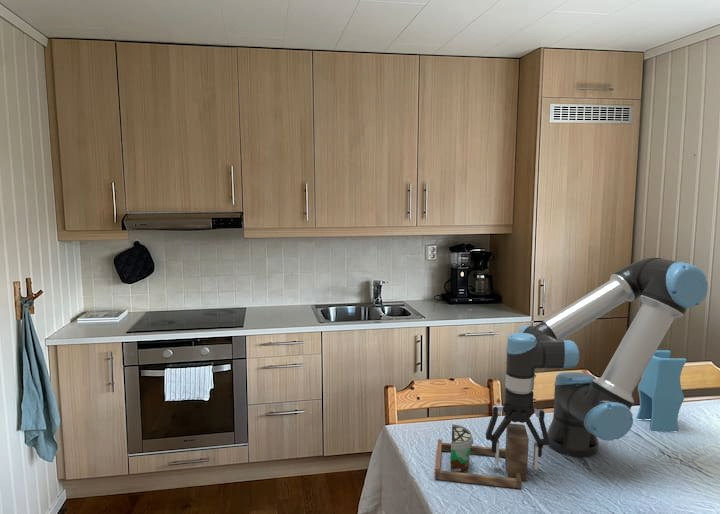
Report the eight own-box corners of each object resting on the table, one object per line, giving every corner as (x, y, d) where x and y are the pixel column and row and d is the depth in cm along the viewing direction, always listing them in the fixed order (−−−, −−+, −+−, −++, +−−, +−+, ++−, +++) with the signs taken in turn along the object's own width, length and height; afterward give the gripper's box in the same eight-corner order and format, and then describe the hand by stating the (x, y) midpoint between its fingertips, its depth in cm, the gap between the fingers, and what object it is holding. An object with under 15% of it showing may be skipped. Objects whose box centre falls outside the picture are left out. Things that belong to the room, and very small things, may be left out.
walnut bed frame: (521, 456, 153) (522, 418, 151) (528, 489, 136) (530, 446, 134) (437, 448, 158) (438, 411, 156) (434, 478, 141) (436, 437, 139)
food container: (472, 479, 141) (473, 445, 140) (450, 476, 142) (451, 442, 141) (472, 457, 153) (473, 425, 152) (451, 454, 154) (452, 423, 153)
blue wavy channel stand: (680, 432, 170) (687, 359, 167) (651, 431, 170) (656, 359, 167) (663, 419, 180) (669, 350, 177) (635, 418, 180) (640, 350, 177)
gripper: (559, 387, 143) (554, 462, 146) (477, 381, 148) (474, 454, 150) (564, 397, 136) (559, 476, 139) (478, 390, 140) (475, 467, 143)
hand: (515, 464), depth 145 cm, fingers open, 10 cm apart
